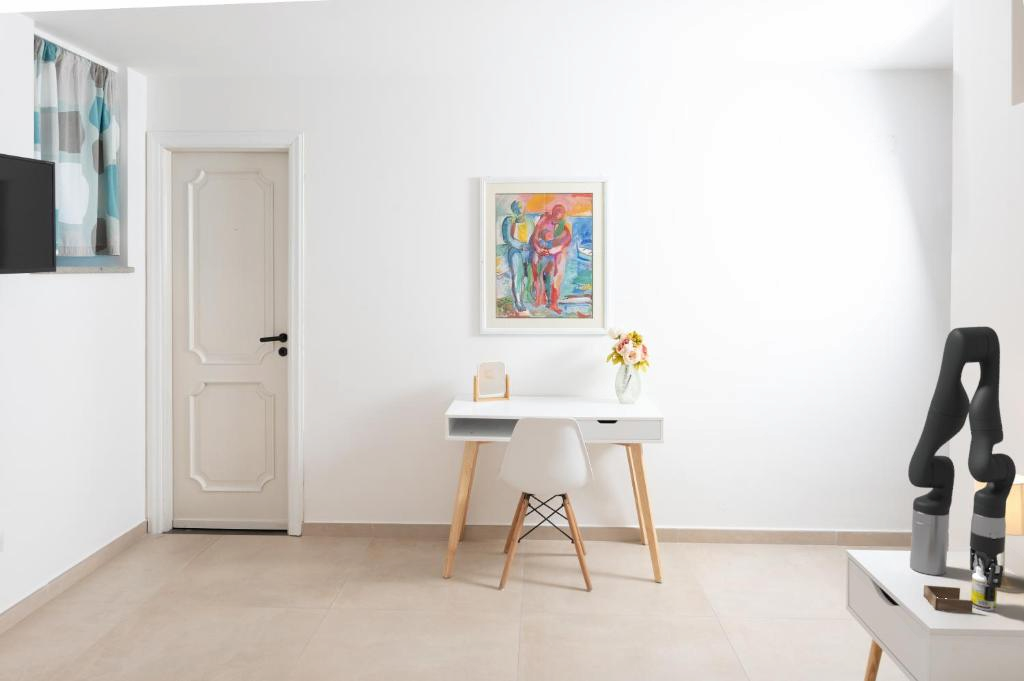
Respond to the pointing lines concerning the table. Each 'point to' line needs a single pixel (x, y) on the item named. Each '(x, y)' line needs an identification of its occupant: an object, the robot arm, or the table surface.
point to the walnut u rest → (952, 599)
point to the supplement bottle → (981, 592)
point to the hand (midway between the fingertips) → (983, 595)
